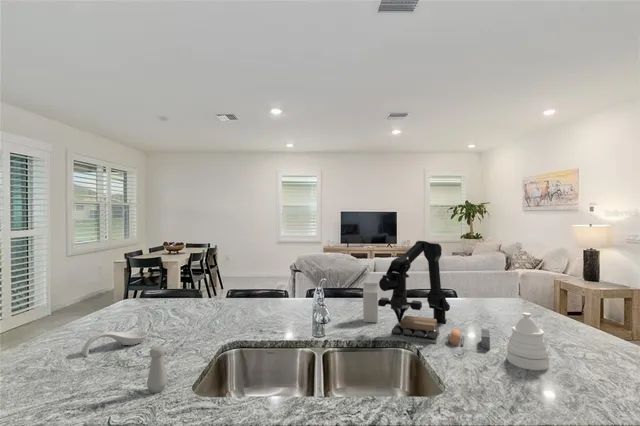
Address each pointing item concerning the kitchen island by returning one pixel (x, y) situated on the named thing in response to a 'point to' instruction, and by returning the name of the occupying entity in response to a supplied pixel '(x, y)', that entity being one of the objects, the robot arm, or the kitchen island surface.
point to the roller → (455, 337)
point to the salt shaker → (157, 370)
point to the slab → (419, 323)
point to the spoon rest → (118, 338)
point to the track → (418, 334)
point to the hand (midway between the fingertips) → (399, 322)
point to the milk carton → (370, 302)
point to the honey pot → (527, 345)
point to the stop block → (485, 339)
